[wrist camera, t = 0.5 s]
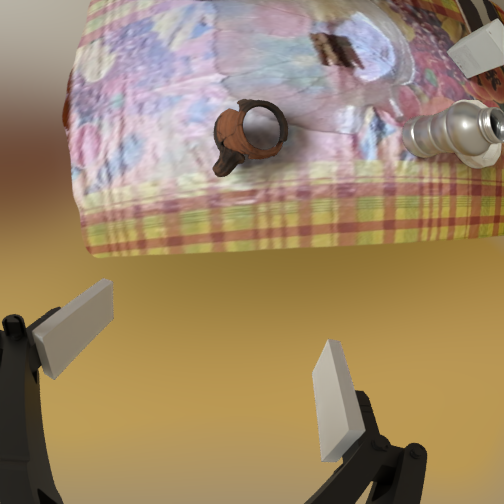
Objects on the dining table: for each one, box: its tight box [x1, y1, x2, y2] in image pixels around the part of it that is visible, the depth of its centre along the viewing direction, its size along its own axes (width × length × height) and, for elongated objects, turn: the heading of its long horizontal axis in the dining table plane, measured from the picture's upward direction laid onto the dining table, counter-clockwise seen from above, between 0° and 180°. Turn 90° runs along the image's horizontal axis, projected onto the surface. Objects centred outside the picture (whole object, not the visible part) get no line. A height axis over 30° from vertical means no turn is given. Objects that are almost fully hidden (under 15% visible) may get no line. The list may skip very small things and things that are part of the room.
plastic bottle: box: [402, 102, 504, 158], centre depth 24 cm, size 6×7×20 cm
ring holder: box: [451, 100, 501, 168], centre depth 30 cm, size 12×12×3 cm
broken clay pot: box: [213, 99, 288, 177], centre depth 34 cm, size 12×10×8 cm
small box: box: [447, 19, 504, 79], centre depth 21 cm, size 8×6×13 cm
